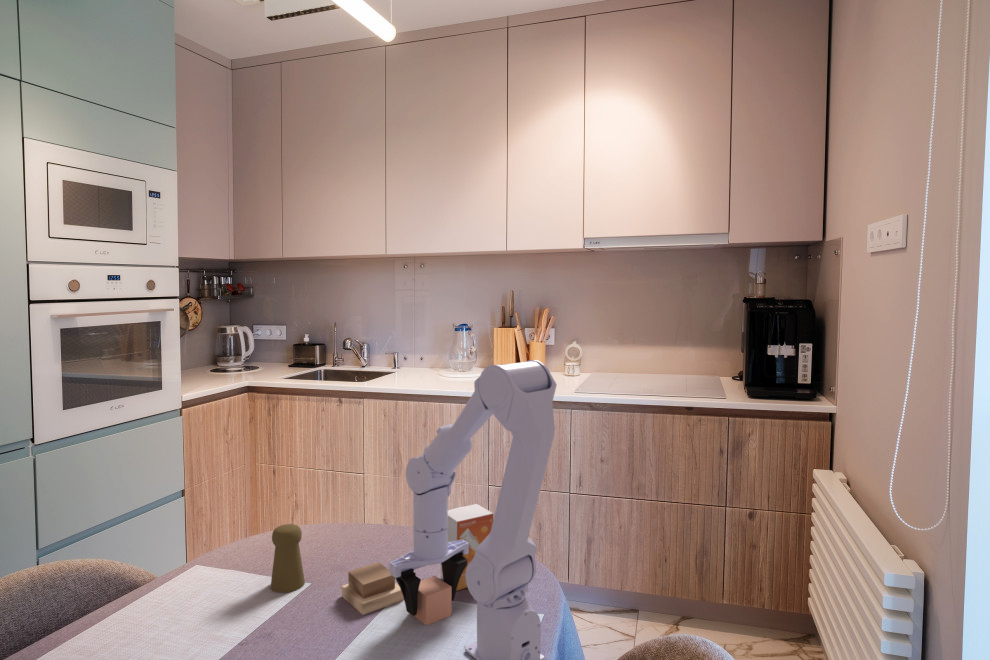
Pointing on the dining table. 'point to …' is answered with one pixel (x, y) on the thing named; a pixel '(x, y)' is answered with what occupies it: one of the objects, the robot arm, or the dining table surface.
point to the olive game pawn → (287, 559)
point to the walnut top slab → (371, 580)
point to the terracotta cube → (433, 600)
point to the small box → (468, 531)
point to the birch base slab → (372, 599)
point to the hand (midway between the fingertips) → (430, 605)
